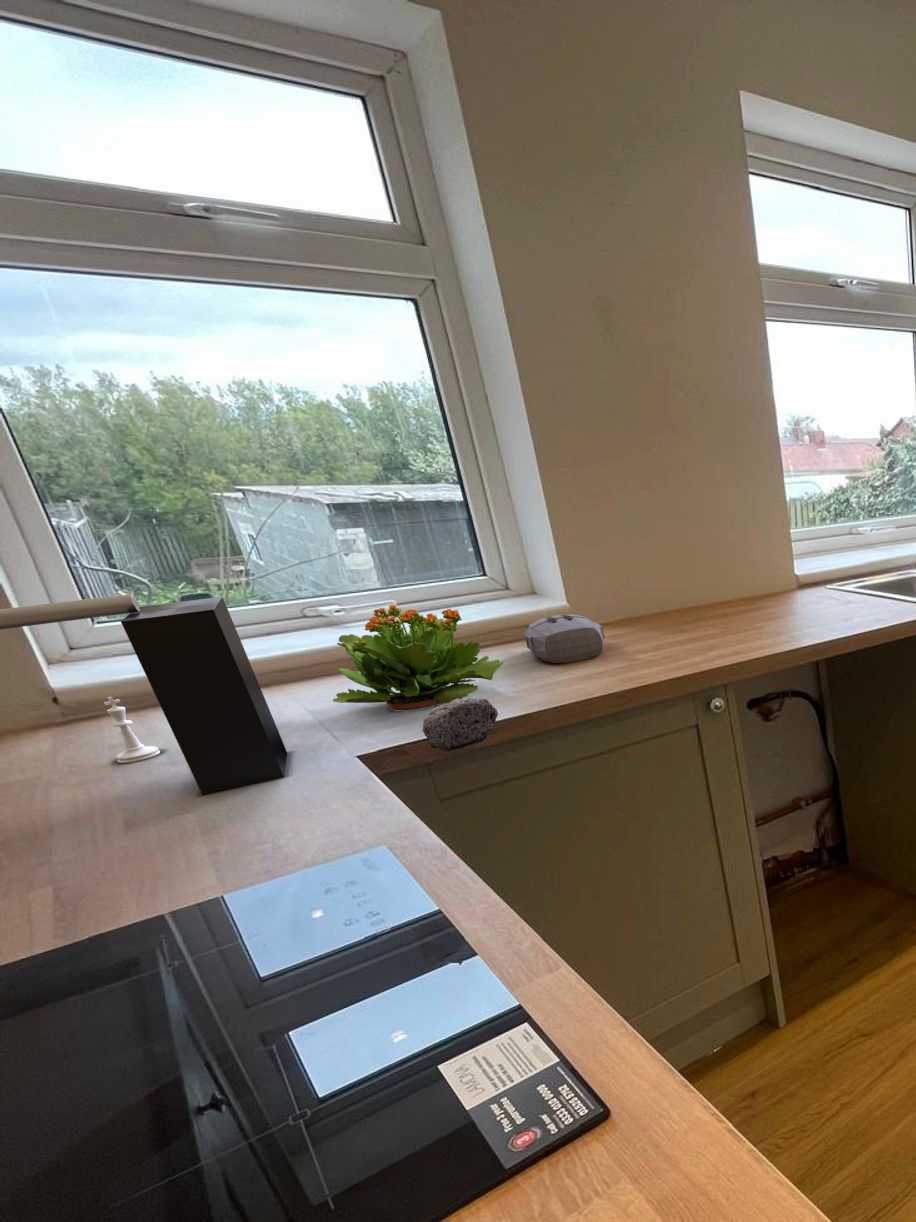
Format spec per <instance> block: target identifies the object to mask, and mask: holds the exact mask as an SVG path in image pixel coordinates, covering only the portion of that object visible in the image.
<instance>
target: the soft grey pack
mask: <svg viewBox="0 0 916 1222" xmlns="http://www.w3.org/2000/svg"><path fill="white" fill-rule="evenodd" d="M524 638H525V643H526V648H527V649H528V650H529V651H530V652H531V654H533V655H534V656H536V657H537V658H538V659H540V660H542V661H543V662H548V663H551V664H552V663H553V664H556V663H557V664H564V663H565V664H566V663H571V662H580V661H584V660H586V659H590V658H594V657H595V656H597V655H598V656H599V654H601V653H602V652H603V651H602V650H603V649H604V645H605V643H604V642H605V641H604V640H605V639H606V636H605V633H604V628H603V626H602V625H600V624H599V623H597V622H594V621H593V620H591V619H589V617H587V616H583V615H578V614H572V613H571V614H569V613H568V614H567V613H566V614H556V615H551V616H546V617H543V618H540V619H538V620H536V621H534V622H531V623H530V624H528V626H527V628H526V631H525V632H524Z"/></svg>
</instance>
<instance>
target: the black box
mask: <svg viewBox="0 0 916 1222" xmlns="http://www.w3.org/2000/svg"><path fill="white" fill-rule="evenodd" d="M139 608H140V612H135V613H128V614H127V616H125V617H124V618H123V619H121V620H120V624H121V626H122V628H123V629H124V632H125V634H126V636H127V638H128V640H129V642H130V644H131V647H132V649H133V651H134V653H135V655H136V657H137V659H138V661H139V663H140V667H141V668H142V670H143V672H144V674H145V677H146V679H147V680H148V682H149V685H150V687H151V689H152V691H153V693H154V696H155V698H156V700H157V702H158V704H159V706H160V708H161V710H162V712H163V715H164V717H165V719H166V721H167V724H168V725H169V728H170V729H171V732H172V734H173V736H174V738H175V740H176V742H177V745H178V746H179V748H180V750H181V753H182V755H183V757H184V759H185V762H186V763H187V765H188V768H189V770H190V772H191V774H192V776H193V778H194V780H195V783H196V784H197V788H198V789H199V791H200V793H201V795H202V796H204V795H209V794H213V793H218V792H221V791H226V790H231V789H236V788H241V787H244V786H249V785H253V784H254V785H255V784H259V783H262V782H263V783H264V782H267V781H271V780H276V779H281V778H284V777H285V774H286V768H287V767H286V766H287V759H288V751H287V748H286V746H285V744H284V742H283V739H282V737H281V733H280V732H279V729H278V727H277V725H276V722H275V719H274V718H273V714H272V713H271V710H270V708H269V705H268V703H267V701H266V698H265V696H264V693H263V691H262V688H261V686H260V684H259V681H258V679H257V677H256V673H255V672H254V670H253V667H252V664H251V662H250V660H249V657H248V654H247V652H246V649H245V648H244V645H243V642H242V640H241V638H240V635H239V633H238V631H237V628H236V626H235V624H234V621H233V619H232V616H231V614H230V611H229V609H228V607H227V604H226V602H225V599H224V597H223V596H217V597H209V598H201V599H192V600H191V599H190V600H183V601H176V602H168V603H160V604H151V605H144V606H139Z"/></svg>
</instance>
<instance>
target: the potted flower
mask: <svg viewBox="0 0 916 1222" xmlns="http://www.w3.org/2000/svg"><path fill="white" fill-rule="evenodd" d="M373 612H374V613H373V616H372V618H370V619H369V621H367V622H366V623H365V625H364V627H365V628H364V631H368V632H369V633H370V634H371V633H375V632H376V633H377V634H373V635H369V634H364V635H362V636H361V637H360V636H358V635H355V634H353V633H350V634H348V635H346V634H342V635H339V637H338V642H336V644H337V645H338V646H341V647H343V648H345V652H346V653H347V654H348V655H350V656H351V660H352V662H353V664H354V665H355V666H356V669H357V670H352V669H350V668H343V667H342V668H338V671H339V672H340V673H341V674H342V675H344V676H346V678H347V679H349V680H350V681H352V682H355V683H356V684H358V685H360V686H364V687H366V688H370V689H372V690H369V691H366V690H361V689H356V690H354V689H351V688H347V692H345V691H343V692H338V693H336V694H335V696H336V697H335V698H332V702H334V703H340V704H343V703H347V704H348V703H349V704H350V703H355V704H363V703H366V704H367V703H369V704H372V703H373V704H374V703H375V704H377V703H379V704H380V703H386V705H387V706H388V708H390V710H391V711H398V712H403V711H405V712H407V711H416V710H422V709H428V708H432V707H435V706H436V707H437V706H439V705H443V704H444V703H448V702H451V701H453V700H455V699H457V698H458V699H464V698H465V697H467V696H469V694H472V693H474V692H476V691H478V689H479V685H478V684H477V685H476V684H475V685H474V683H471V684H470V683H469V682H475V681H476V679H483V680H487V681H488V680H489V681H492V680H493V676H494V675H495V673H496V672H497V670H498V669H499V668H500V667H501V666H502V665H503V664H504V661H501V660H500V659H495V660H489V659H490V657H489V656H488V655H484V656H483V657H481V658H480V659H479V658H478V657H477V656H478V655H479V653H480V652H481V649H480V648H481V644H480V642H472V641H469V642H468V643H467V644H465V643H464V642H460V639H458V640H457V642H456V641H455V637H454V636H455V635H454V634H455V632H457V630H458V628H457V627H458V622H459V621H460V622H461V621H462V620H463V618H462V616H461V614H460V612H459V609H452V608H446V609H445V610H442V611H441V615H442V617H443V618H438V616H437V615H436V614H433V613H432V612H431V613H428V614H426V616H424V615H423V614H420V613H419V611H417V609H408V610H405V611H403V612H402V608H399V607H397V604H389V605H388V609H387V610H386V609H385V607H380V608H375V609H374V610H373ZM405 624H408V628H409V630H408V631H407V628H406V626H405ZM408 632H409V633H408ZM393 688H394V689H395V690H393ZM373 690H374V691H373Z"/></svg>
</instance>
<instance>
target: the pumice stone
mask: <svg viewBox="0 0 916 1222" xmlns="http://www.w3.org/2000/svg"><path fill="white" fill-rule="evenodd" d="M498 715H499V711H498V710H497V708H496V707H495V706H494V705H493V704H492V703H491V702H490V700H488V699H487V698H486V697H467V698H465V697H464V698H463V699H458V698H457V699H455V700H453V701H451V702H448V703H444V704H443V705H442V704H439V705H437V706H436V707H434V708H432V709H430V711H429V713H428V714H427V716H426V717H425V718H424V719H423V721H422V732H423V734H424V736H425V737H426V739H427V740H428V742H431V743H432V744H433V746H435V748H437V749H440V750H442V751H444V752H451V751H455V750H460V749H463V748H465V747H469V746H472V745H475V744H479V743H482V742H484V741H485V740H487V738H488V736H489V735H491V732H492V730H493V728H494V726H495V724H496V720H497V717H498Z"/></svg>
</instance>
